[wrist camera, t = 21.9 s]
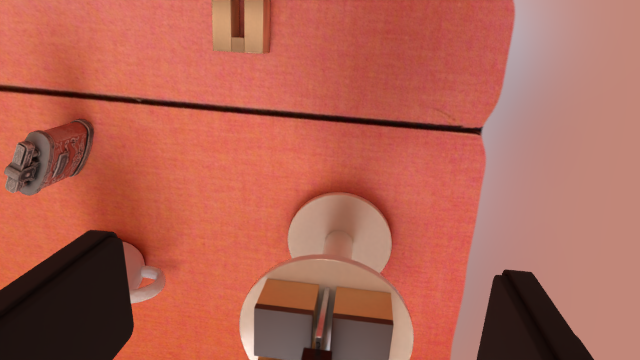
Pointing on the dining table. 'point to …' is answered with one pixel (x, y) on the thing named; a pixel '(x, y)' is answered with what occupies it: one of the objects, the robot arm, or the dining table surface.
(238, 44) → the knife block
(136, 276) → the mug
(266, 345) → the cake
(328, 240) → the cake stand
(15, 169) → the lighter
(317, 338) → the knife
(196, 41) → the dining table surface
